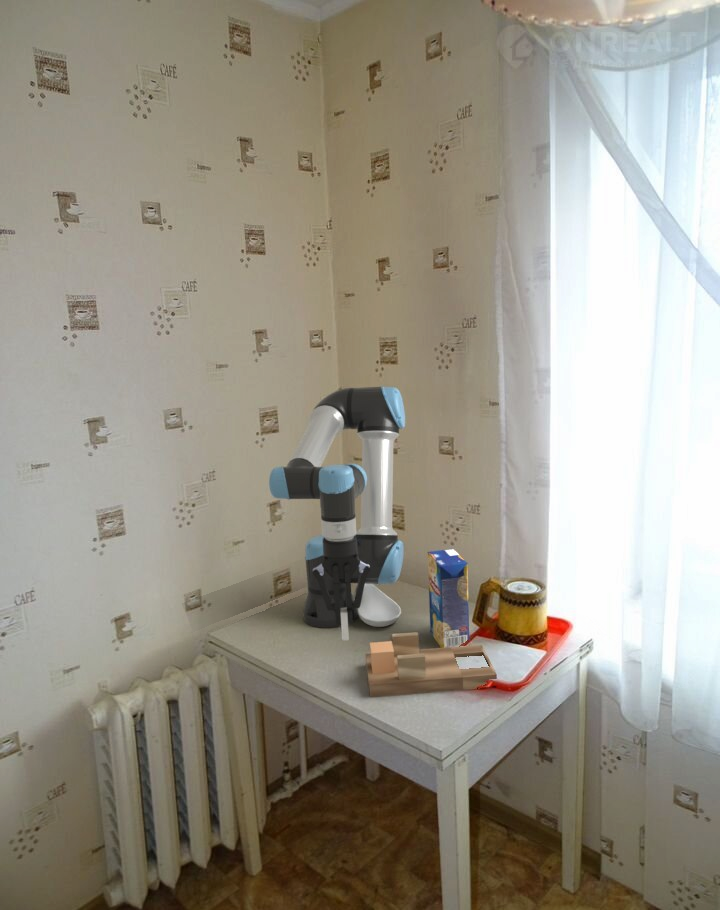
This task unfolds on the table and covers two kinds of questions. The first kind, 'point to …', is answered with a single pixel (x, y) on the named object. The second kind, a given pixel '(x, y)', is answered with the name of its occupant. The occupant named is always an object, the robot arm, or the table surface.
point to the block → (382, 657)
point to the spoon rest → (377, 607)
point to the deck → (427, 669)
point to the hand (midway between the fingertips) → (345, 637)
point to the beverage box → (448, 597)
